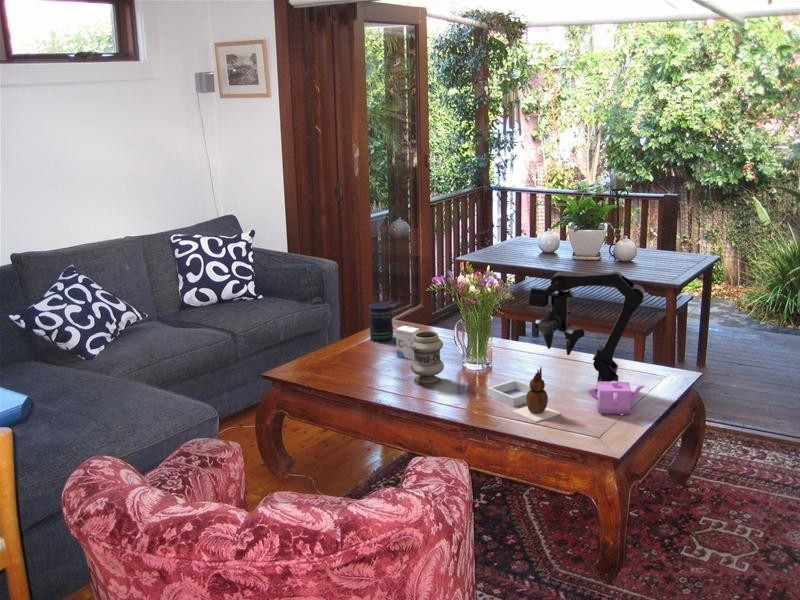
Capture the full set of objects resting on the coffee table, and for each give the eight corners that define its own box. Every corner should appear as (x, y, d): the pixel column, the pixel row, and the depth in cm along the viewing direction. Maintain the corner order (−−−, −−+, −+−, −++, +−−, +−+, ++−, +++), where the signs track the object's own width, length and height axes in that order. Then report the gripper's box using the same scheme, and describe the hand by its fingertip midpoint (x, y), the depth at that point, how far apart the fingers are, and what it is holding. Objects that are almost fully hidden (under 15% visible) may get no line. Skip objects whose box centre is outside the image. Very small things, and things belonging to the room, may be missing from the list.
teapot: (642, 404, 285) (643, 376, 283) (646, 421, 272) (648, 391, 270) (586, 402, 288) (587, 374, 286) (588, 418, 275) (589, 389, 273)
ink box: (395, 356, 341) (395, 328, 338) (403, 353, 344) (402, 325, 341) (413, 360, 336) (413, 331, 333) (420, 356, 340) (420, 328, 337)
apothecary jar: (405, 384, 310) (404, 336, 305) (419, 373, 320) (418, 327, 316) (436, 388, 305) (435, 340, 300) (449, 377, 315) (448, 331, 311)
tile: (560, 414, 279) (560, 412, 279) (536, 422, 273) (536, 421, 273) (536, 404, 288) (536, 402, 288) (512, 412, 282) (512, 410, 282)
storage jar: (365, 340, 363) (363, 306, 359) (380, 334, 370) (379, 301, 366) (383, 344, 357) (381, 309, 353) (398, 338, 364) (397, 304, 360)
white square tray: (541, 397, 294) (541, 389, 293) (513, 406, 286) (513, 398, 286) (515, 387, 304) (515, 379, 303) (487, 395, 297) (487, 387, 296)
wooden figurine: (541, 407, 284) (541, 364, 280) (550, 413, 279) (551, 369, 275) (523, 410, 282) (523, 367, 278) (532, 416, 277) (532, 372, 273)
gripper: (523, 307, 299) (523, 350, 303) (562, 318, 284) (561, 363, 288) (546, 301, 305) (545, 343, 309) (586, 312, 291) (584, 356, 295)
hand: (558, 351), depth 300 cm, fingers open, 9 cm apart
